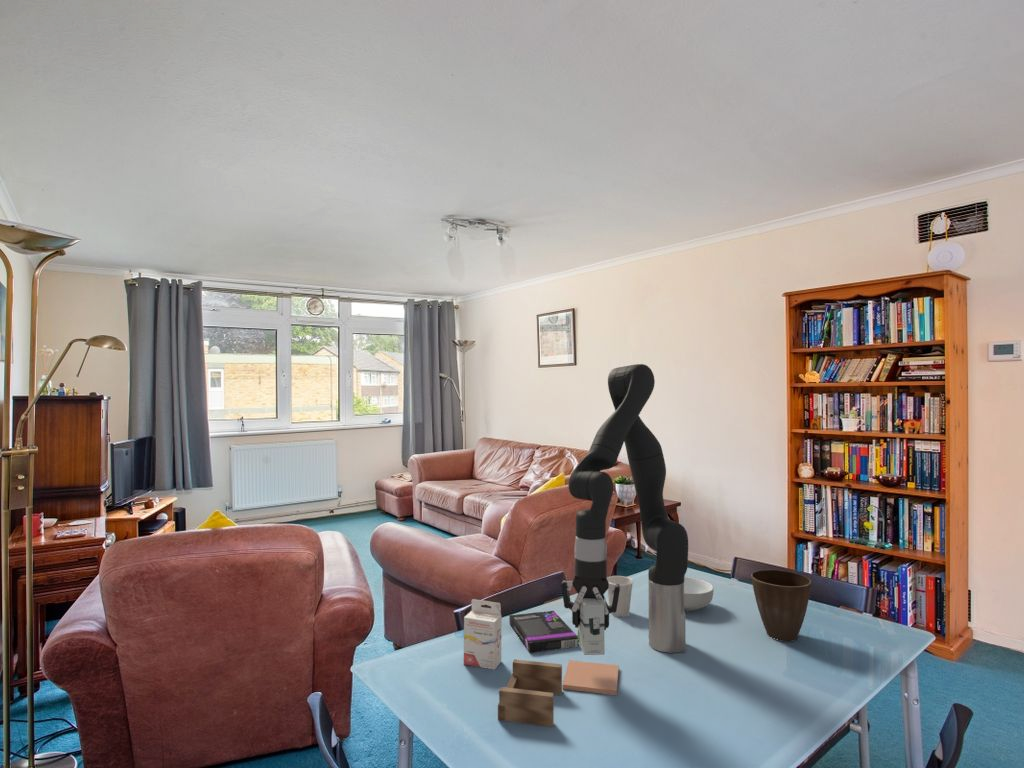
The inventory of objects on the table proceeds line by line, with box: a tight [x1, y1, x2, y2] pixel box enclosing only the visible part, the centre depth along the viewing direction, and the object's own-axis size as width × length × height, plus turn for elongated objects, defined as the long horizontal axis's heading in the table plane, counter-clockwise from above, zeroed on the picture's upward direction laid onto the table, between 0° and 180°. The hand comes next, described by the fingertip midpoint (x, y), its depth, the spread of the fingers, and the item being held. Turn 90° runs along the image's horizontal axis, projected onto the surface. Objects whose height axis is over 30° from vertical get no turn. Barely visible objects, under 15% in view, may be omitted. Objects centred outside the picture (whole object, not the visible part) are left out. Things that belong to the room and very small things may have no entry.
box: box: [508, 610, 580, 654], centre depth 157 cm, size 14×4×20 cm
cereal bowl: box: [684, 576, 714, 612], centre depth 178 cm, size 17×17×7 cm
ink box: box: [577, 598, 606, 656], centre depth 133 cm, size 9×5×12 cm, turn 4°
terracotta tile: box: [562, 659, 619, 696], centre depth 132 cm, size 12×12×1 cm
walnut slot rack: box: [497, 659, 563, 728], centre depth 121 cm, size 11×14×6 cm
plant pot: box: [750, 569, 812, 642], centre depth 156 cm, size 15×15×16 cm
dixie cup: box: [606, 575, 634, 618], centre depth 172 cm, size 8×8×10 cm
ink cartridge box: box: [463, 598, 503, 671], centre depth 140 cm, size 9×5×15 cm, turn 71°
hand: (590, 627), depth 133 cm, fingers closed on ink box, 5 cm apart
